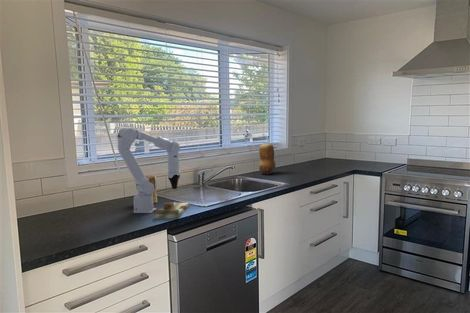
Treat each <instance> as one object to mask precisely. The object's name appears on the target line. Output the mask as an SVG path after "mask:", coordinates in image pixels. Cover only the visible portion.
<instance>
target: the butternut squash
mask: <svg viewBox="0 0 470 313" xmlns="http://www.w3.org/2000/svg"><path fill="white" fill-rule="evenodd" d="M274 148H275V147H274V145H273V144H272V143H270V142H269V143H263V144H260V145H259V148H258V151H259V152H258V154H259V157H260V158H259V159H260V160H259V164H258V169H259V171H260V172H261V173H263V174H264V175H271V174H272V173H273V171H274V170H275V169H276V162H275V149H274Z"/></svg>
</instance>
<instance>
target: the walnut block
mask: <svg viewBox="0 0 470 313" xmlns="http://www.w3.org/2000/svg"><path fill="white" fill-rule="evenodd" d="M174 203H175V202H173V201H172V202H171V201H169V202H168V201H166V202H164V203H163V209H164V210H174Z"/></svg>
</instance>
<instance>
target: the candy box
mask: <svg viewBox="0 0 470 313" xmlns="http://www.w3.org/2000/svg"><path fill="white" fill-rule="evenodd" d="M144 176H145V177H146V178H147V179H148V180H149V182H150V183H152V184H153V185H154V192H153V204H155V203H156V204H157V202H158V194H157V193H158V192H157V191H158V190H157V176H156V175H144Z"/></svg>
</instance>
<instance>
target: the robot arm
mask: <svg viewBox="0 0 470 313" xmlns="http://www.w3.org/2000/svg"><path fill="white" fill-rule="evenodd" d="M116 137H117V138H116V139H117V150H118V153H119V155H120V156H121V158H122V160H123V161H124V164H125V165H126V166H127V168H128V170H129V172H130V173H131V176H132V177H133V178H134V183H135V189H136V191H137V193H136V194H135V195H134V196H133V201H132V202H133V214H152V213H154V210H157V208H156V207H154V203H153V192H154V185H153V184H152V183H150V182H149V180H148V179H147V178H146V177H145V176H146V175H145V174H144V172H143V170H142V169H141V167H140V165H139V163H138V162H137V159H136V157H135V156H134V154H133V153H132V151H131V148H132V145H133V144H134V142H135V141H136V140H143V141H146V142H150V143H153V146H155V147H156V148H159V149H161V150H164V151H166V152H167V167H168V169H167V170H168V171H167V178H168V180H169V182H170V186H171V189H172V190H177V189H178V184H179V179H180V176H181V174H182V171H180V164H179V163H180V162H179V161H180V160H179V159H180V158H179V152H180V150H181V147H180V144H179V143H178V142H176V141H172V139H168V138H165V136H164V135H161V136H160V135H158V136H156V137H155V136H153V135H151V134H148V133H146V132H144V131H142V130H138V129H134V128H125V127H123V128H121V129H120V130H119V131H118V132H117V136H116Z"/></svg>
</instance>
